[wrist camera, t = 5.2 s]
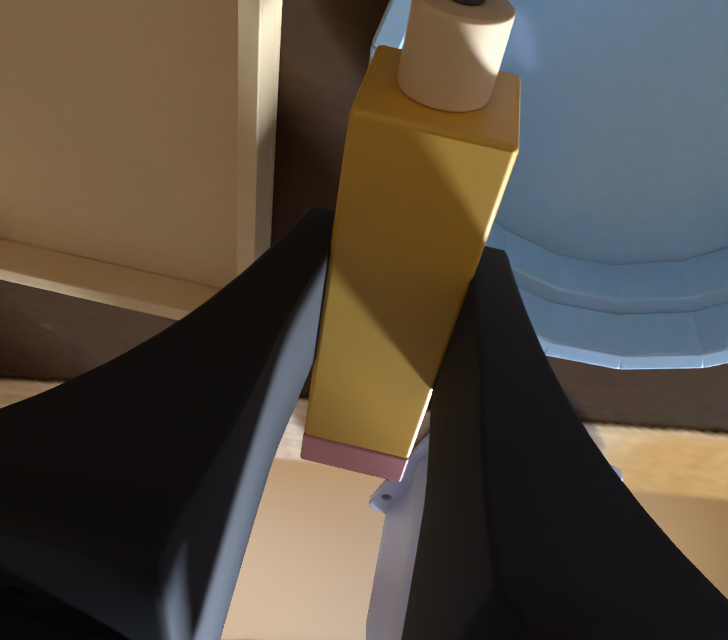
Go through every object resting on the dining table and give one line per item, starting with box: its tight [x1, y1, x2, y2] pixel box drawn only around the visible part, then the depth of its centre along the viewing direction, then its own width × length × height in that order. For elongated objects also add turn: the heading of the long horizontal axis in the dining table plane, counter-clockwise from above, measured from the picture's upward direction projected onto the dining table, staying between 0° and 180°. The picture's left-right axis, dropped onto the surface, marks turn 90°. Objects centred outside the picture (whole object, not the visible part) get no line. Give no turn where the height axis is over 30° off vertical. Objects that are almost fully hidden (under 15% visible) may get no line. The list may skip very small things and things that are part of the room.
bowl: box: [369, 0, 728, 369], centre depth 15 cm, size 14×14×4 cm
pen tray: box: [0, 0, 282, 320], centre depth 19 cm, size 16×11×2 cm
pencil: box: [301, 0, 521, 482], centre depth 11 cm, size 10×2×2 cm, turn 171°
